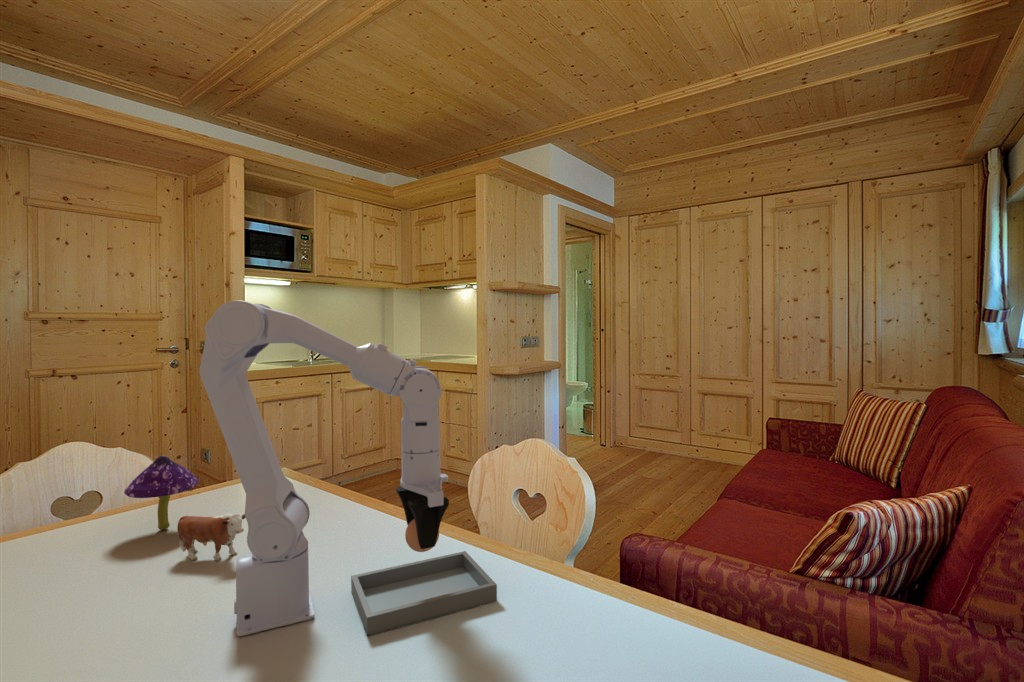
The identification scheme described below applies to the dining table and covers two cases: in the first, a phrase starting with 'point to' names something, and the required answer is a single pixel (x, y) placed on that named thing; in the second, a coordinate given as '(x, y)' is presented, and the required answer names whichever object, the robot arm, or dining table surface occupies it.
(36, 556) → the dining table surface
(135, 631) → the dining table surface
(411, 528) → the ball
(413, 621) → the walled pen
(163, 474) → the decorative mushroom
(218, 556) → the bull figurine
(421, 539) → the robot arm
